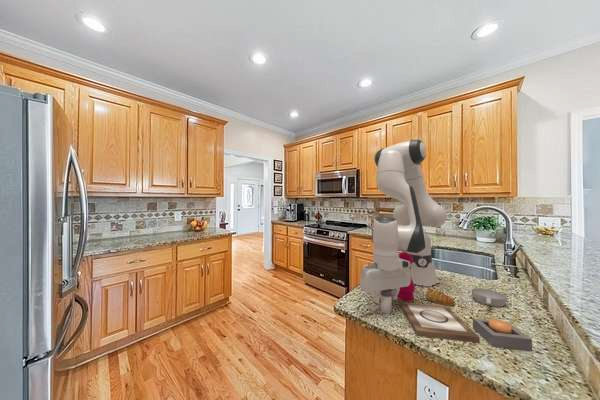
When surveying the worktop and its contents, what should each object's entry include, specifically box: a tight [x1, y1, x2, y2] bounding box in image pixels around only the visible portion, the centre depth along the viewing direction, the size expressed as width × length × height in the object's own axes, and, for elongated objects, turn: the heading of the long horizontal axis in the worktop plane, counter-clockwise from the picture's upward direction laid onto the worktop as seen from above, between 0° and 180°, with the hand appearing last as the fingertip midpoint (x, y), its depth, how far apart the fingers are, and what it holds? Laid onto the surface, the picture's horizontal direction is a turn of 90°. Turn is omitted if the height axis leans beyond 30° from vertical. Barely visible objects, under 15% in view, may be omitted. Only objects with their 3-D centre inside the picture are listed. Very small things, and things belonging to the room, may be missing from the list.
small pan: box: [471, 287, 508, 308], centre depth 83 cm, size 11×18×4 cm, turn 139°
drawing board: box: [399, 301, 481, 344], centre depth 71 cm, size 19×16×2 cm
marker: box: [379, 289, 393, 315], centre depth 77 cm, size 4×4×8 cm
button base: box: [472, 317, 533, 352], centre depth 62 cm, size 9×9×3 cm
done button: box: [488, 318, 512, 334], centre depth 62 cm, size 5×5×2 cm
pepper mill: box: [397, 251, 416, 302], centre depth 89 cm, size 7×7×20 cm
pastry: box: [425, 288, 456, 307], centre depth 86 cm, size 9×7×4 cm
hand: (385, 301), depth 77 cm, fingers open, 6 cm apart
